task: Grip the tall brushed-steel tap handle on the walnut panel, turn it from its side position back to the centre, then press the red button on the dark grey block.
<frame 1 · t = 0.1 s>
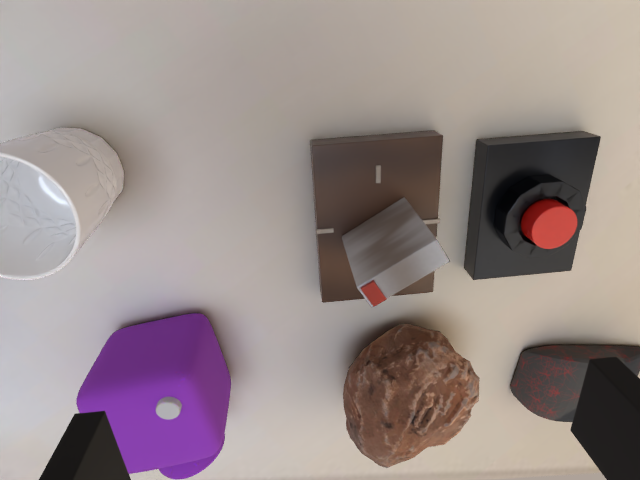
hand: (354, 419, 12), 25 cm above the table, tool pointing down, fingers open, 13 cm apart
toy camera: (182, 363, 42), on the table
button block: (519, 203, 38), on the table
white cup: (80, 169, 34), on the table
tap handle: (389, 248, 32), point 6 cm above the table, hinge at -60.0°
button: (548, 223, 34), point 4 cm above the table, slide at 0.1 cm
computer mouse: (573, 367, 47), on the table
decorative rock: (392, 357, 44), on the table
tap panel: (373, 216, 37), on the table
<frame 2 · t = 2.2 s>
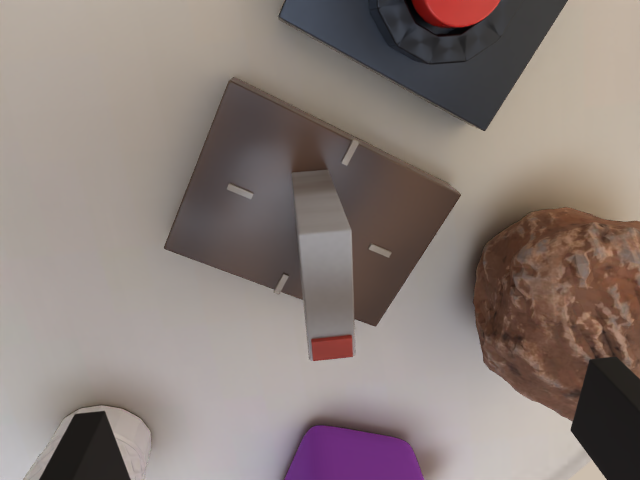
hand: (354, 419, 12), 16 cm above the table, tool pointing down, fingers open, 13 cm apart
toy camera: (360, 461, 37), on the table
white cup: (107, 434, 33), on the table
tap handle: (320, 255, 21), point 6 cm above the table, hinge at -60.0°
decorative rock: (529, 272, 30), on the table
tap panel: (310, 208, 26), on the table
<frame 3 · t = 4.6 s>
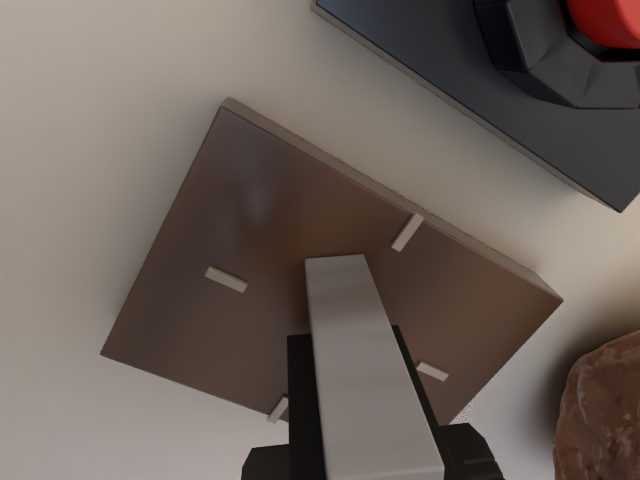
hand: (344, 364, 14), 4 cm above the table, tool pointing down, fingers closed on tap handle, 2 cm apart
tap handle: (354, 418, 12), point 6 cm above the table, hinge at -55.9°, touching gripper
decorative rock: (622, 391, 22), on the table
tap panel: (331, 297, 18), on the table
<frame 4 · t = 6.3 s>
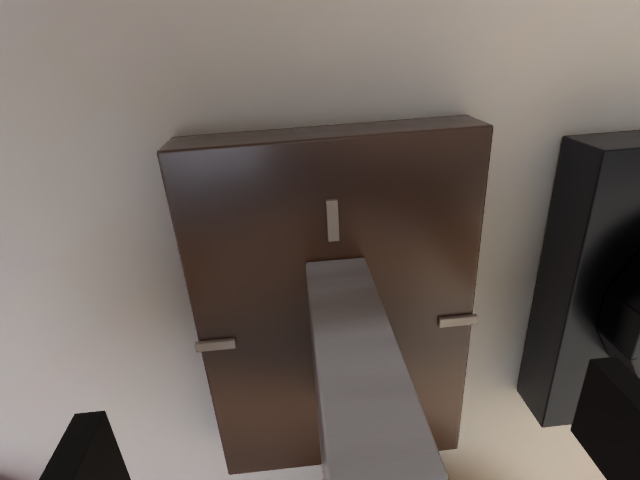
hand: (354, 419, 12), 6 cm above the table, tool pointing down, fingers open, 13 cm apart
tap handle: (356, 424, 12), point 6 cm above the table, hinge at -0.5°
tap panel: (332, 301, 17), on the table
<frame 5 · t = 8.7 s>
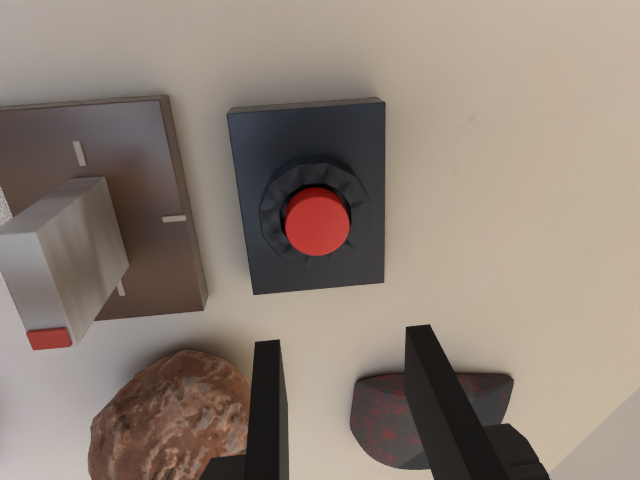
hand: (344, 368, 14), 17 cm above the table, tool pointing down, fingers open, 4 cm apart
button block: (311, 195, 29), on the table
tap handle: (72, 255, 23), point 6 cm above the table, hinge at -0.5°
button: (316, 221, 25), point 4 cm above the table, slide at 0.1 cm
computer mouse: (427, 400, 38), on the table
decorative rock: (190, 390, 35), on the table
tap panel: (113, 212, 28), on the table
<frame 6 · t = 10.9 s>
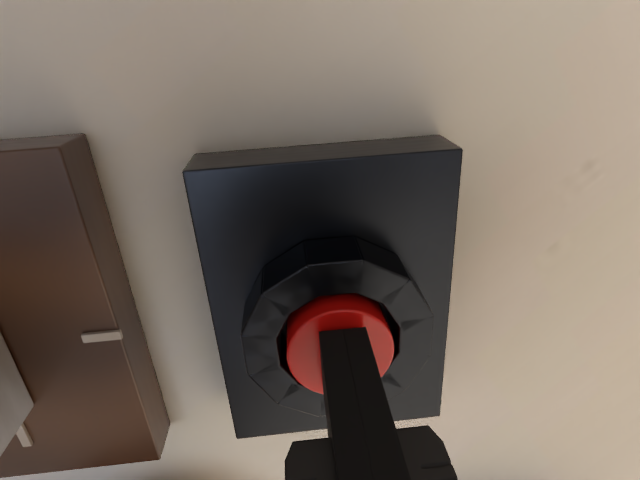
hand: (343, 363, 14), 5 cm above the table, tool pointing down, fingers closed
button block: (327, 284, 18), on the table
button: (338, 338, 15), point 4 cm above the table, slide at -0.8 cm, touching gripper
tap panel: (11, 314, 18), on the table
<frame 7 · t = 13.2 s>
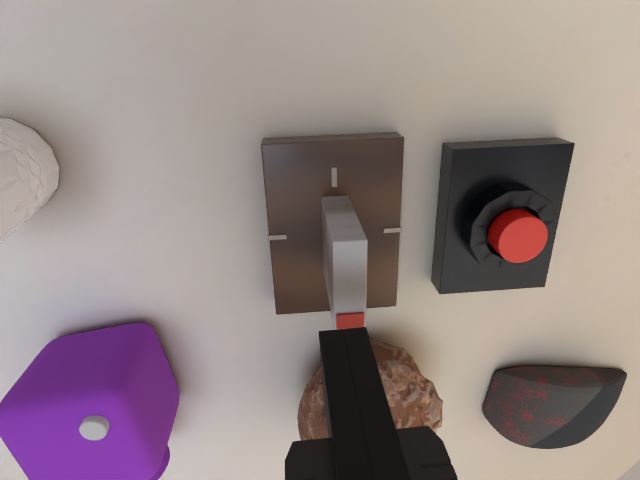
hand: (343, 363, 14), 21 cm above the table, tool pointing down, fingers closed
toy camera: (129, 376, 39), on the table
button block: (490, 213, 35), on the table
white cup: (12, 164, 31), on the table
tap handle: (342, 257, 29), point 6 cm above the table, hinge at -0.5°
button: (517, 235, 31), point 4 cm above the table, slide at 0.1 cm
computer mouse: (549, 390, 44), on the table
decorative rock: (356, 375, 41), on the table
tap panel: (332, 223, 35), on the table
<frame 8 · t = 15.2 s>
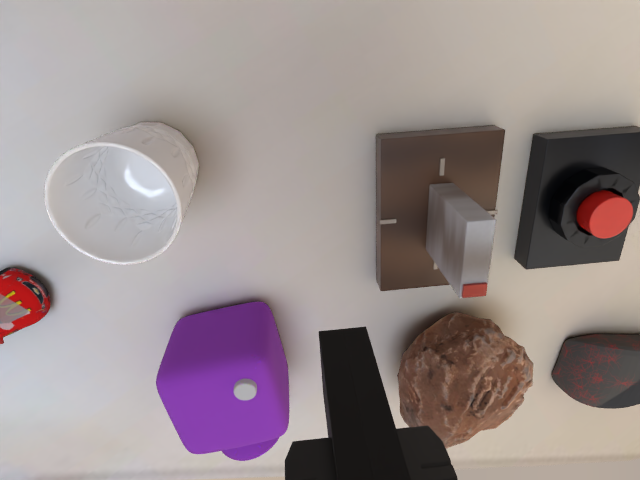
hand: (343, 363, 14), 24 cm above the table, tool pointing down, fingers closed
toy camera: (240, 351, 44), on the table
button block: (570, 196, 39), on the table
white cup: (157, 162, 35), on the table
tap handle: (456, 237, 33), point 6 cm above the table, hinge at -0.5°
button: (604, 214, 35), point 4 cm above the table, slide at 0.1 cm
computer mouse: (612, 356, 49), on the table
decorative rock: (441, 346, 46), on the table
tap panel: (431, 208, 39), on the table
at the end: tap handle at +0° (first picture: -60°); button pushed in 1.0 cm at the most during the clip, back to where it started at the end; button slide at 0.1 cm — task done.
